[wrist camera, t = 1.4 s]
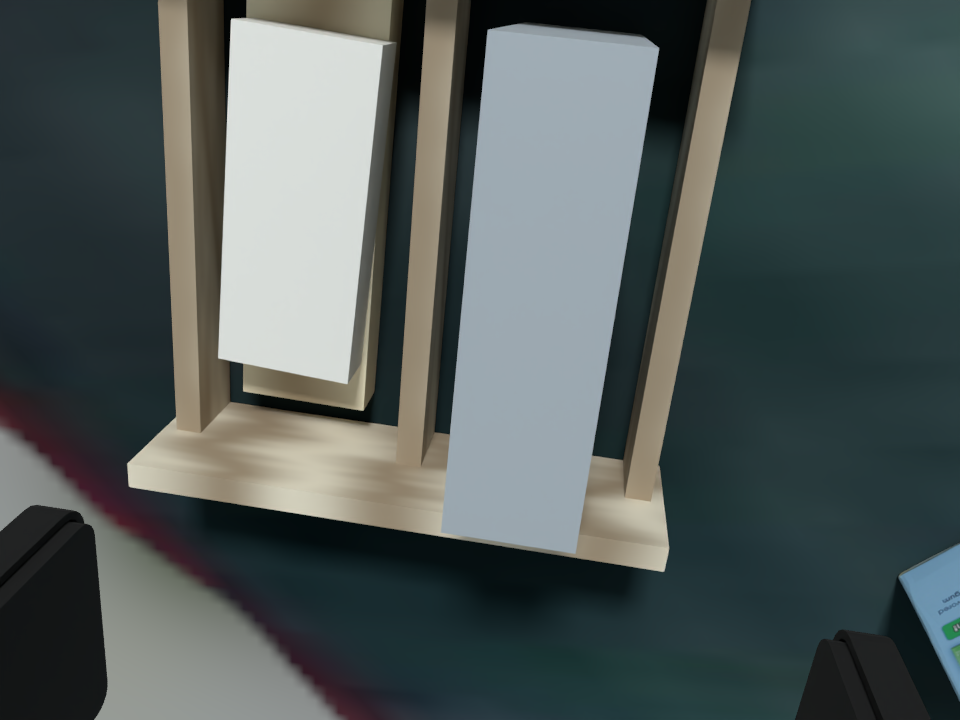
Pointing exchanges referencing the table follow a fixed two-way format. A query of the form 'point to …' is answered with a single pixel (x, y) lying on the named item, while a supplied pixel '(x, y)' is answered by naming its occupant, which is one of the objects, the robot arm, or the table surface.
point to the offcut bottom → (378, 14)
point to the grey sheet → (543, 275)
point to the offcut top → (301, 195)
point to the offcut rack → (413, 444)
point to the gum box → (939, 606)
